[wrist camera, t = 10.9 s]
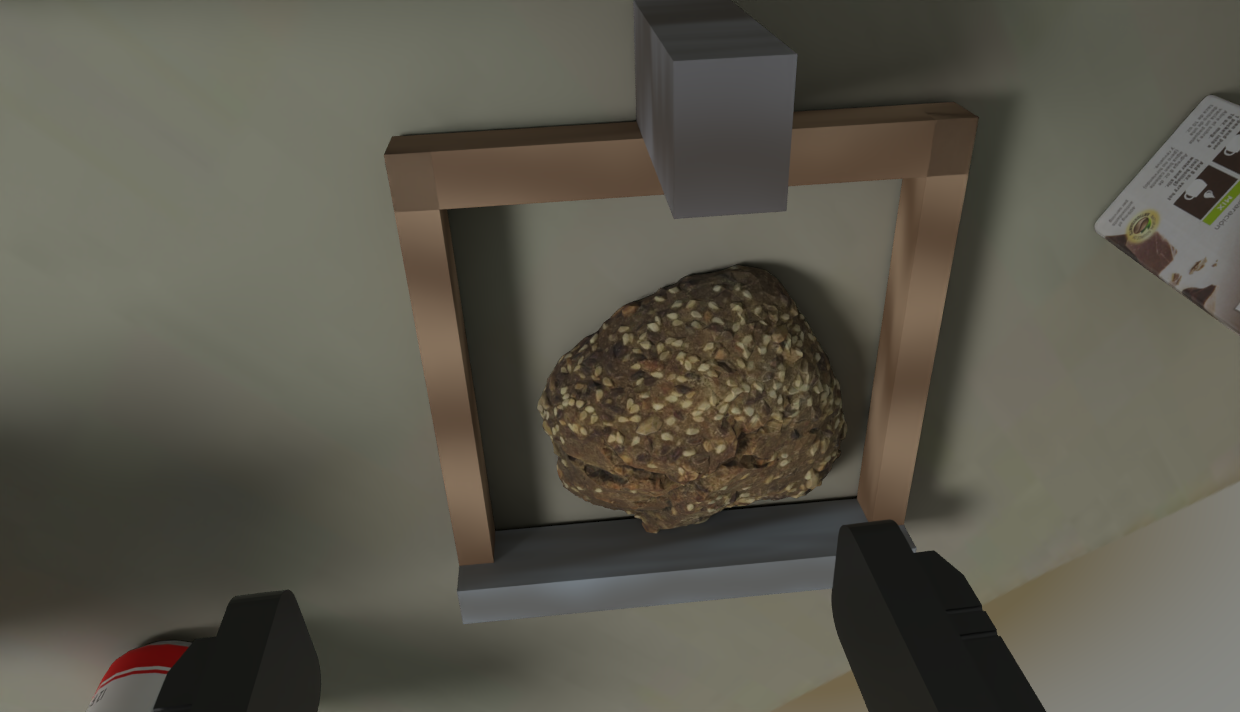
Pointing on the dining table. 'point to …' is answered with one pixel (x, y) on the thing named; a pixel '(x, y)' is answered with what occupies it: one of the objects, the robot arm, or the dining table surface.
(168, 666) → the beer can
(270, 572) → the dining table surface
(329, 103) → the dining table surface
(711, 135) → the frame
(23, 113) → the dining table surface
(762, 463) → the bread roll
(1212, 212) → the coffee box
